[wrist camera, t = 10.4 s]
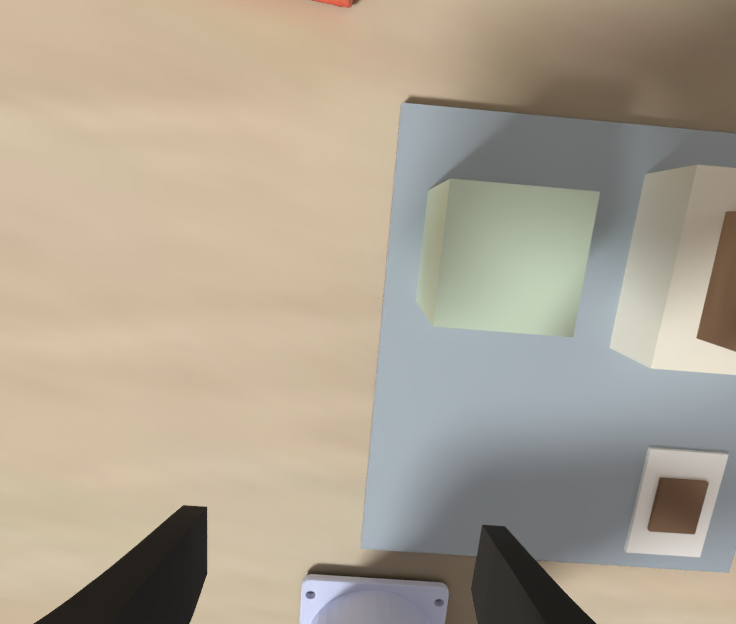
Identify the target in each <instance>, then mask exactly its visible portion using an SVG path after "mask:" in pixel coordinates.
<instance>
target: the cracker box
mask: <svg viewBox="0 0 736 624" xmlns="http://www.w3.org/2000/svg"><path fill="white" fill-rule="evenodd" d="M313 1H318V2H322V3H327V4H332V5H336V6H339V7H347V8H349V7H351V6H352V3H353V0H313Z"/></svg>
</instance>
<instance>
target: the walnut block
mask: <svg viewBox="0 0 736 624" xmlns="http://www.w3.org/2000/svg"><path fill="white" fill-rule="evenodd" d="M696 338H697V339H700V340H703V341H706V342H709V343H712V344H714V345H717V346H720V347H723V348H726V349H729V350H732V351H735V352H736V211H729V212H726V213H725V217H724V221H723V225H722V230H721V234H720V238H719V243H718V247H717V251H716V256H715V260H714V264H713V268H712V273H711V277H710V281H709V286H708V290H707V294H706V299H705V303H704V307H703V311H702V316H701V320H700V324H699V329H698V333H697V337H696Z"/></svg>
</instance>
